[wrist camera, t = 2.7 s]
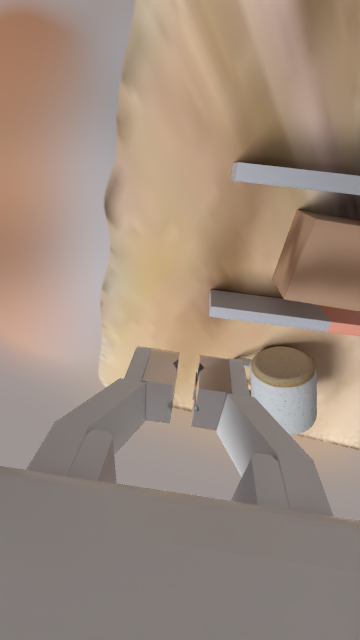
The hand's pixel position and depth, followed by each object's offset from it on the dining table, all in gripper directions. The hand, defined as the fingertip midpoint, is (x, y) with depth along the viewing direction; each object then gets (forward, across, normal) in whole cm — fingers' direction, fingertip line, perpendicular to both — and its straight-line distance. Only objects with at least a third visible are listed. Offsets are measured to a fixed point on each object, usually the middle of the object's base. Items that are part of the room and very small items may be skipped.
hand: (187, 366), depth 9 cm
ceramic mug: (+19, -11, +16) cm, 28 cm away
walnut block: (+19, -12, 0) cm, 23 cm away
